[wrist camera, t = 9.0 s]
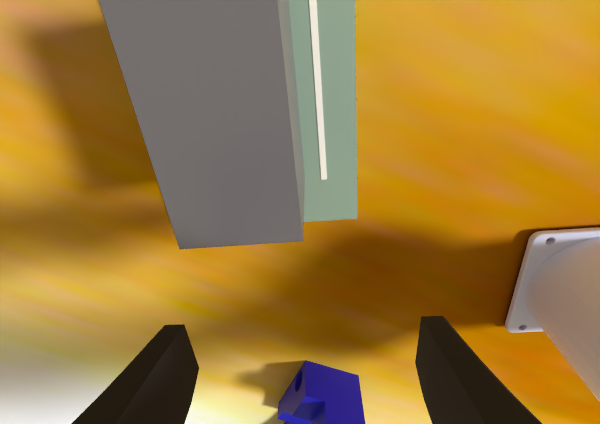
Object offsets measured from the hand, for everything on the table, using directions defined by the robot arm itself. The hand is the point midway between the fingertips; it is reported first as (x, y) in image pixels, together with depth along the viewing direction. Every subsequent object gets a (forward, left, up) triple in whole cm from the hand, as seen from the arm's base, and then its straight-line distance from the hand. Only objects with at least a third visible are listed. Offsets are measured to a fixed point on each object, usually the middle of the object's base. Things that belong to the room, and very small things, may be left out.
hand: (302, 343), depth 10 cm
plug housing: (+2, -6, -9) cm, 11 cm away
